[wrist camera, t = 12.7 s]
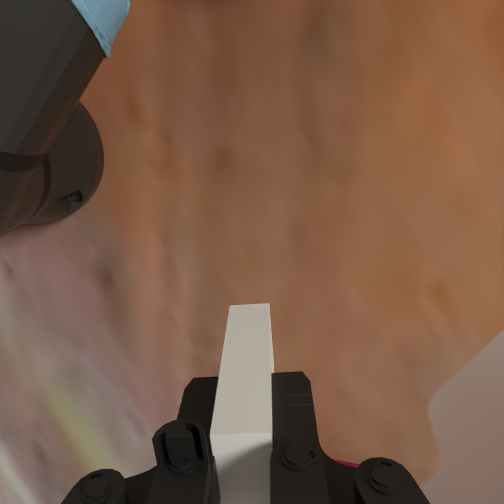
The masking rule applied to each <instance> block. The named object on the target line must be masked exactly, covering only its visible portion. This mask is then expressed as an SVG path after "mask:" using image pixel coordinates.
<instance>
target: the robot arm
mask: <svg viewBox="0 0 504 504" xmlns="http://www.w3.org/2000/svg"><path fill="white" fill-rule="evenodd" d="M129 7H130V2H129V0H0V237H2V236H3V235H5V234H6V233H8V232H10V231H11V230H13V229H15V228H16V227H18V226H19V225H21V224H42V223H49V222H53V221H57V220H60V219H63V218H65V217H67V216H69V215H70V214H72V213H73V212H75V211H76V210H78V209H79V208H81V207H82V206H83V205H84V204H86V203H87V202H88V201H89V199H90V198H91V197H92V196H93V194H94V193H95V191H96V189H97V187H98V185H99V183H100V180H101V177H102V173H103V166H104V153H103V146H102V141H101V138H100V134H99V132H98V129H97V127H96V125H95V123H94V121H93V119H92V117H91V116H90V114H89V113H88V111H87V110H86V109H85V107H84V106H83V105H82V104H81V103H80V102H79V99H80V98H81V96H82V94H83V93H84V91H85V89H86V88H87V86H88V84H89V82H90V81H91V79H92V77H93V76H94V74H95V72H96V71H97V69H98V67H99V66H100V64H101V62H102V61H103V59H104V58H106V59H107V58H109V56H110V54H111V46H112V44H113V42H114V40H115V38H116V36H117V34H118V32H119V31H120V29H121V27H122V25H123V23H124V21H125V19H126V17H127V15H128V12H129ZM152 442H153V446H154V451H155V456H156V461H157V466H155V467H154V468H152V469H150V470H149V471H146V472H144V473H141V474H138V475H135V476H132V477H129V478H125V479H124V477H123V476H122V475H121V473H120V472H118V471H116V470H113V469H100V470H97V471H94V472H91V473H89V474H88V475H86V476H85V477H83V478H81V479H80V480H79V481H78V482H77V483H76V485H75V486H74V487H73V488H72V489H71V491H70V492H69V493H68V495H67V496H66V497H65V499H64V500H63V502H62V503H61V504H430V503H429V501H428V500H427V498H426V497H425V495H424V494H423V492H422V491H421V489H420V488H419V486H418V485H417V483H416V482H415V480H414V479H413V477H412V476H411V474H410V473H409V472H408V471H407V470H406V469H405V468H404V466H403V465H401V464H399V463H397V462H396V461H394V460H391V459H387V458H383V457H377V458H370V459H367V460H365V461H363V462H362V463H361V464H360V465H359V466H358V467H357V468H356V467H352V466H348V465H344V464H341V463H338V462H336V461H334V460H333V459H331V458H330V457H328V456H327V455H326V454H325V453H324V451H323V450H322V448H321V447H320V443H319V439H318V432H317V425H316V418H315V412H314V406H313V398H312V391H311V384H310V381H309V379H308V378H307V377H306V376H305V374H304V373H303V372H302V371H301V372H281V373H274V362H273V348H272V335H271V322H270V308H269V303H265V304H248V305H230V309H229V315H228V322H227V328H226V334H225V341H224V347H223V354H222V360H221V366H220V373H219V377H200V378H193V379H192V381H191V382H190V383H189V384H188V385H187V386H186V388H185V390H184V393H183V397H182V403H181V405H180V409H179V413H178V417H177V420H174V421H171V422H169V423H167V424H165V425H163V426H162V427H161V428H160V429H159V430H157V431H156V433H155V435H154V437H153V438H152Z"/></svg>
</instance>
